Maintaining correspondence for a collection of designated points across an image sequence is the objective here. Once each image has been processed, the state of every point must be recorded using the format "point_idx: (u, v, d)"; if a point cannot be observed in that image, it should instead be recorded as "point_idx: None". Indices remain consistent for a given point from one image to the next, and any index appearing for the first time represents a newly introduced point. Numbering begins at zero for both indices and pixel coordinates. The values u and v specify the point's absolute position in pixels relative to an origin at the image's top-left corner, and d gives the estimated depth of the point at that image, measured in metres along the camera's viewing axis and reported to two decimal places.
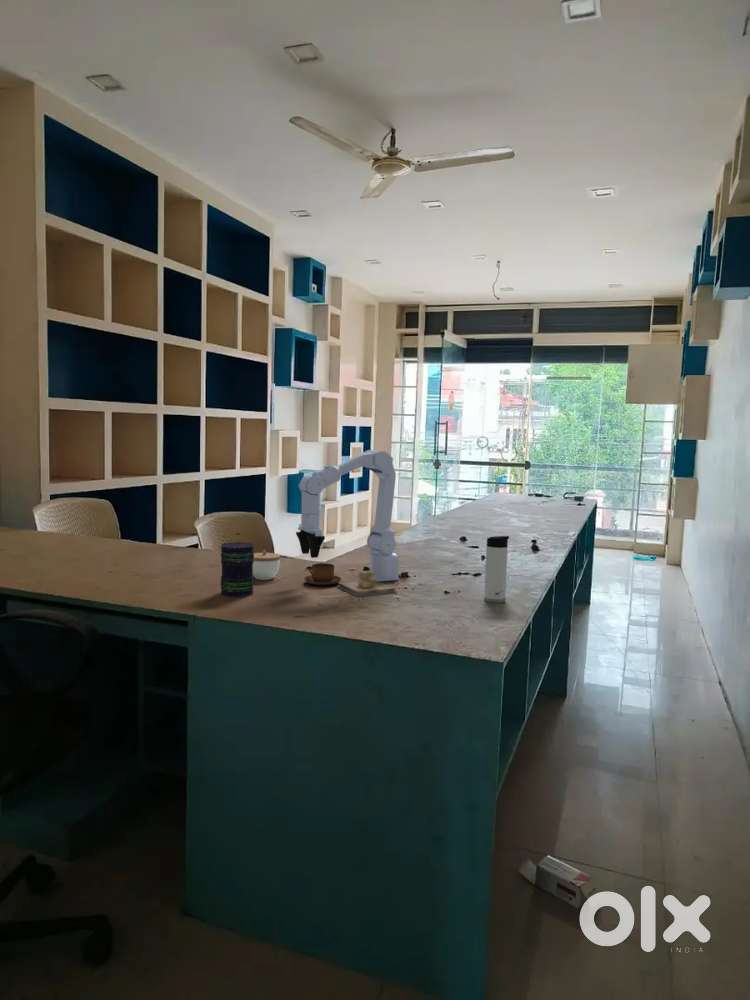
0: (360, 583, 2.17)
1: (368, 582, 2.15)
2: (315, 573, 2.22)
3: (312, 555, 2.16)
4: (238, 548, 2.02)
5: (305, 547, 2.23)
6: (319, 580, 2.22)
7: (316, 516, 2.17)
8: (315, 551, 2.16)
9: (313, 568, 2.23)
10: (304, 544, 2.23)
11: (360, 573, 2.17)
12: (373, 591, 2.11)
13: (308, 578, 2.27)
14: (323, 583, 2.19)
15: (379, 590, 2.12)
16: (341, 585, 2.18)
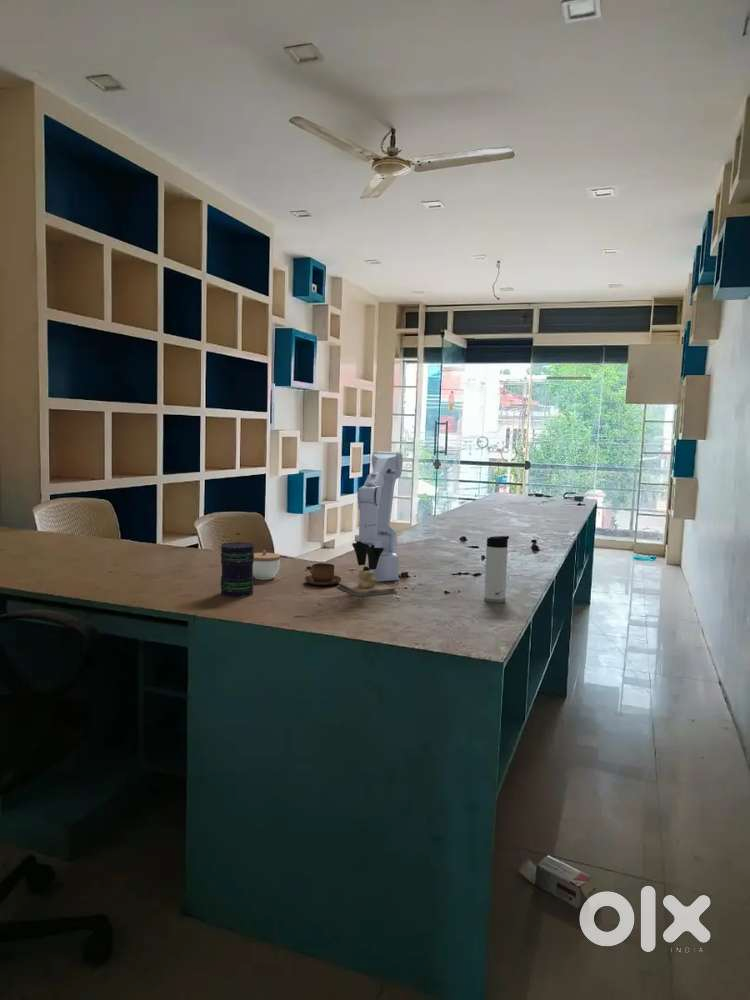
0: (360, 583, 2.17)
1: (368, 582, 2.15)
2: (315, 573, 2.22)
3: (370, 567, 2.12)
4: (238, 548, 2.02)
5: (361, 558, 2.19)
6: (319, 580, 2.22)
7: (374, 527, 2.13)
8: (374, 563, 2.12)
9: (313, 568, 2.23)
10: (360, 555, 2.19)
11: (360, 573, 2.17)
12: (373, 591, 2.11)
13: (308, 578, 2.27)
14: (323, 583, 2.19)
15: (379, 590, 2.12)
16: (341, 585, 2.18)
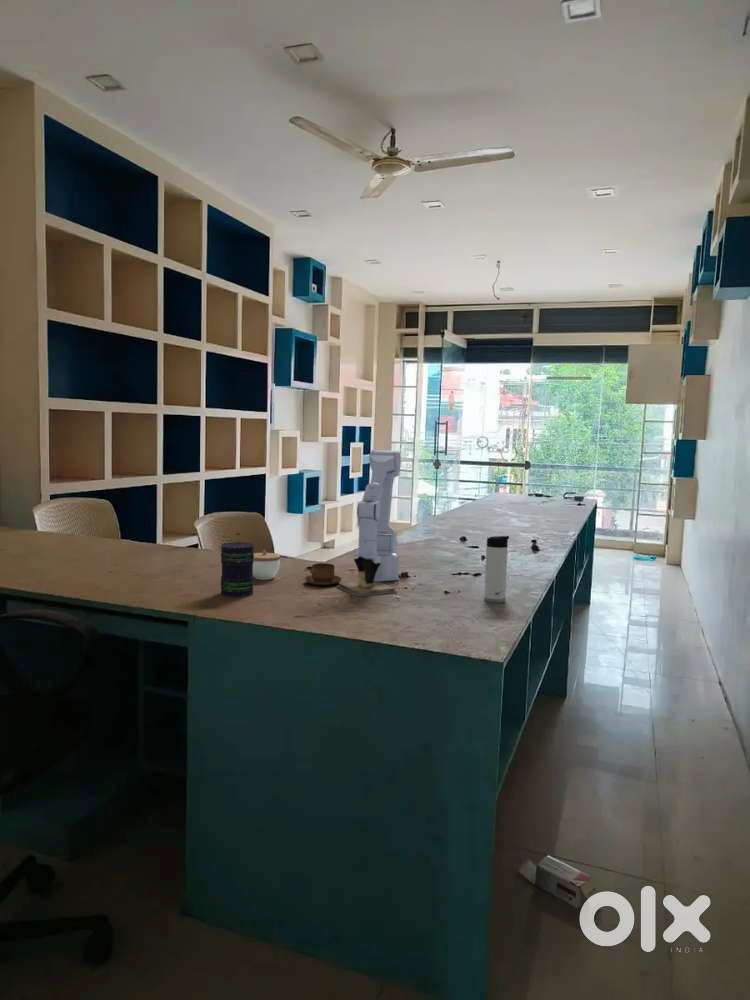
0: (360, 583, 2.17)
1: None
2: (315, 573, 2.22)
3: (368, 581, 2.14)
4: (238, 548, 2.02)
5: None
6: (319, 580, 2.22)
7: (374, 542, 2.14)
8: (371, 577, 2.14)
9: (313, 568, 2.23)
10: None
11: (360, 573, 2.17)
12: (373, 591, 2.11)
13: (308, 578, 2.27)
14: (323, 583, 2.19)
15: (379, 590, 2.12)
16: (341, 585, 2.18)
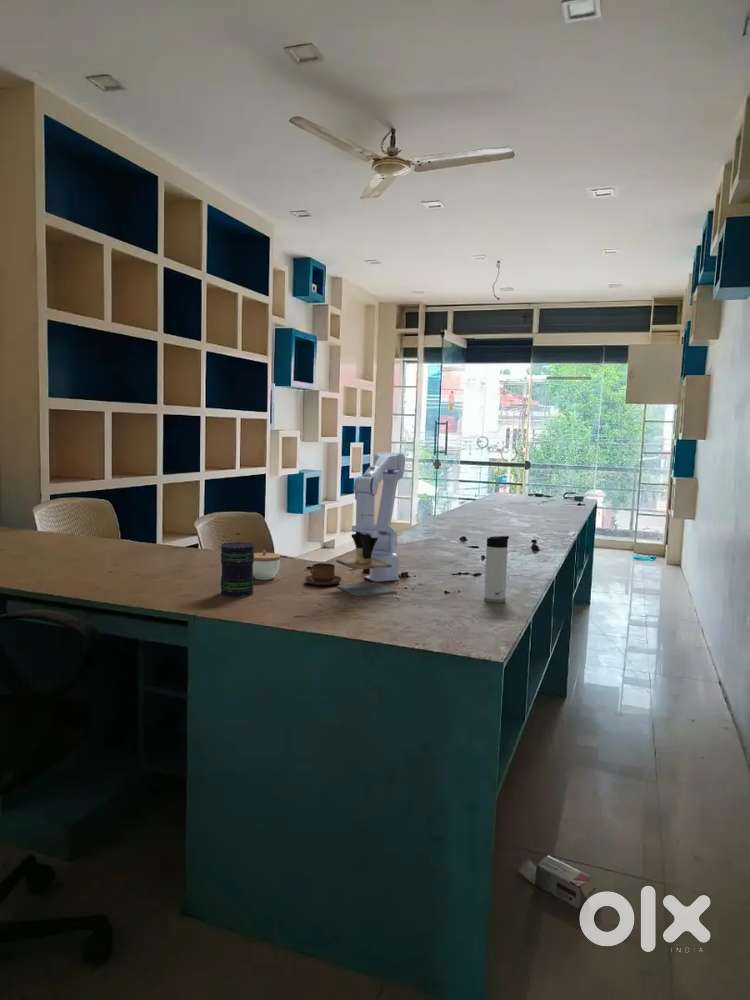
0: (357, 559, 2.17)
1: None
2: (316, 573, 2.22)
3: (365, 556, 2.14)
4: (238, 548, 2.02)
5: None
6: (319, 580, 2.22)
7: (371, 517, 2.14)
8: (368, 552, 2.14)
9: (313, 568, 2.23)
10: (360, 546, 2.18)
11: (357, 549, 2.16)
12: (370, 567, 2.11)
13: (308, 578, 2.27)
14: (323, 583, 2.19)
15: (376, 566, 2.12)
16: (338, 561, 2.18)
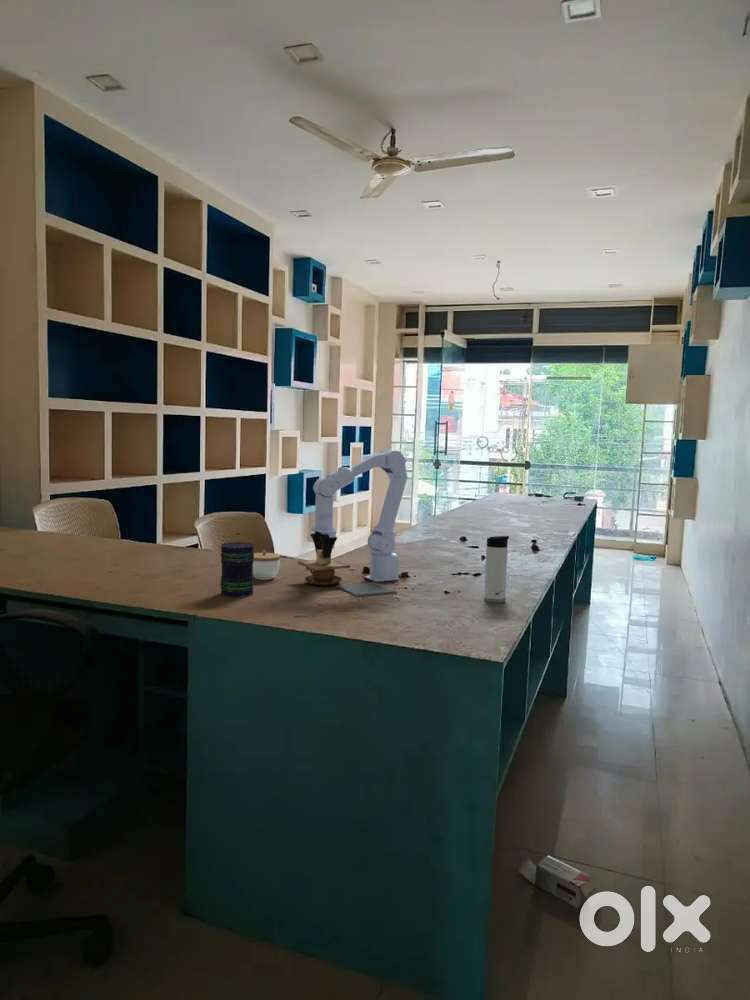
0: (317, 561, 2.24)
1: (325, 559, 2.23)
2: (316, 573, 2.22)
3: (324, 555, 2.21)
4: (238, 548, 2.02)
5: None
6: (320, 580, 2.22)
7: (330, 518, 2.21)
8: (328, 552, 2.21)
9: None
10: (319, 545, 2.26)
11: (317, 551, 2.24)
12: (328, 568, 2.18)
13: (309, 578, 2.27)
14: (324, 583, 2.19)
15: (334, 567, 2.19)
16: (299, 563, 2.26)
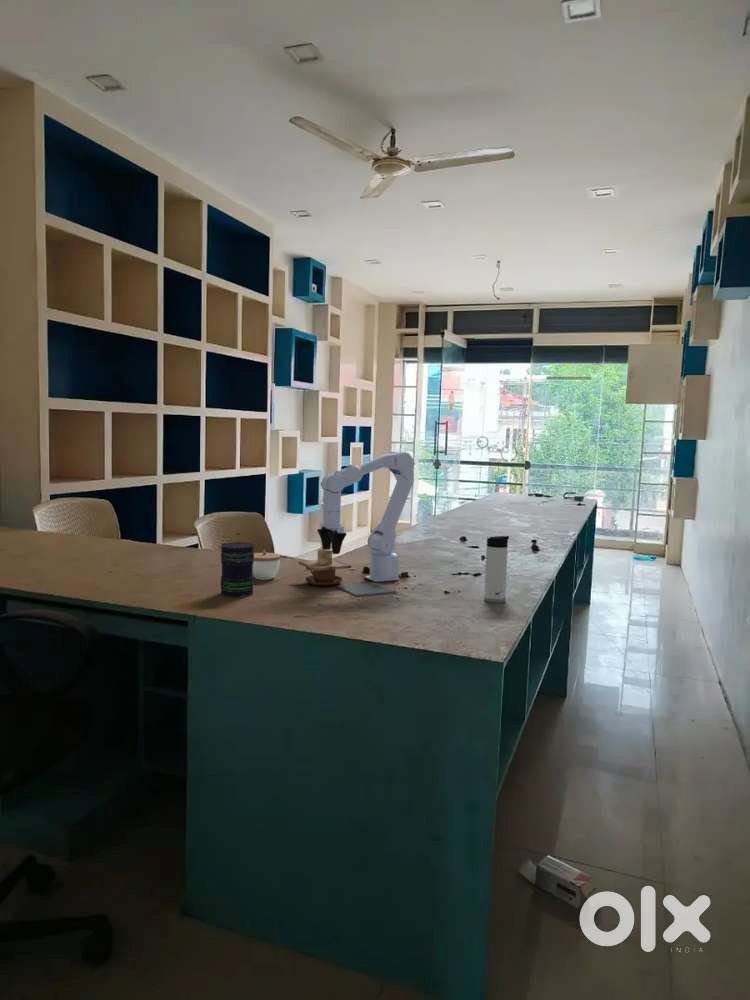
0: (318, 561, 2.24)
1: (326, 560, 2.23)
2: (316, 573, 2.22)
3: (334, 551, 2.21)
4: (238, 548, 2.02)
5: (326, 544, 2.28)
6: (320, 580, 2.21)
7: (337, 513, 2.22)
8: (337, 548, 2.22)
9: None
10: (325, 541, 2.28)
11: (318, 551, 2.24)
12: (330, 568, 2.18)
13: (309, 578, 2.27)
14: (324, 583, 2.19)
15: (336, 567, 2.19)
16: (300, 563, 2.26)
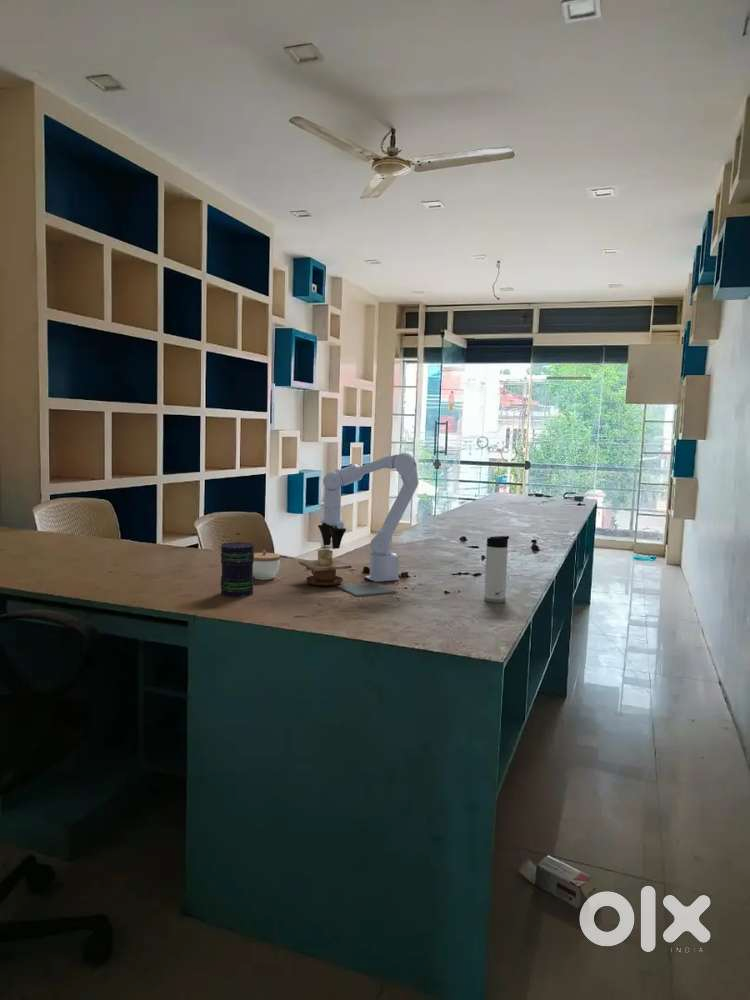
0: (319, 561, 2.24)
1: (326, 560, 2.22)
2: (317, 573, 2.21)
3: (334, 546, 2.31)
4: (238, 548, 2.02)
5: (327, 539, 2.38)
6: (321, 581, 2.21)
7: (338, 510, 2.32)
8: (337, 543, 2.31)
9: None
10: (326, 536, 2.38)
11: (319, 551, 2.24)
12: (330, 568, 2.18)
13: (310, 579, 2.27)
14: (325, 584, 2.19)
15: (336, 567, 2.19)
16: (300, 563, 2.25)
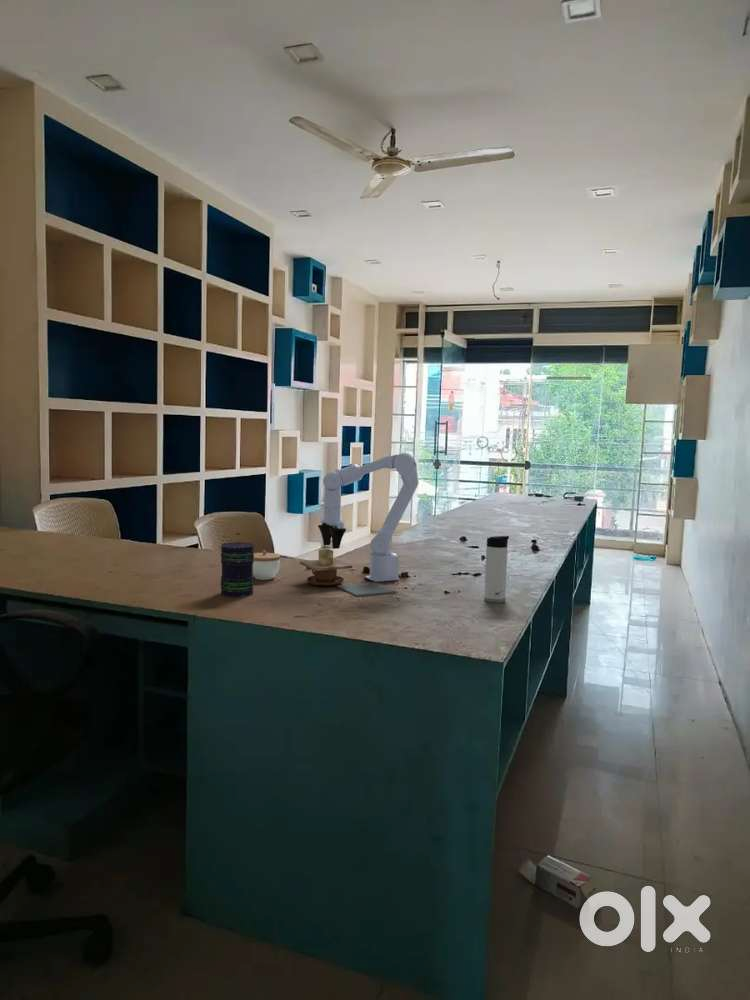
0: (319, 561, 2.24)
1: (327, 560, 2.22)
2: (318, 573, 2.21)
3: (334, 546, 2.31)
4: (238, 548, 2.02)
5: (327, 539, 2.38)
6: (322, 581, 2.21)
7: (338, 510, 2.32)
8: (337, 543, 2.31)
9: None
10: (326, 536, 2.38)
11: (319, 551, 2.24)
12: (331, 568, 2.18)
13: (311, 579, 2.26)
14: (326, 584, 2.19)
15: (337, 567, 2.19)
16: (301, 563, 2.25)
